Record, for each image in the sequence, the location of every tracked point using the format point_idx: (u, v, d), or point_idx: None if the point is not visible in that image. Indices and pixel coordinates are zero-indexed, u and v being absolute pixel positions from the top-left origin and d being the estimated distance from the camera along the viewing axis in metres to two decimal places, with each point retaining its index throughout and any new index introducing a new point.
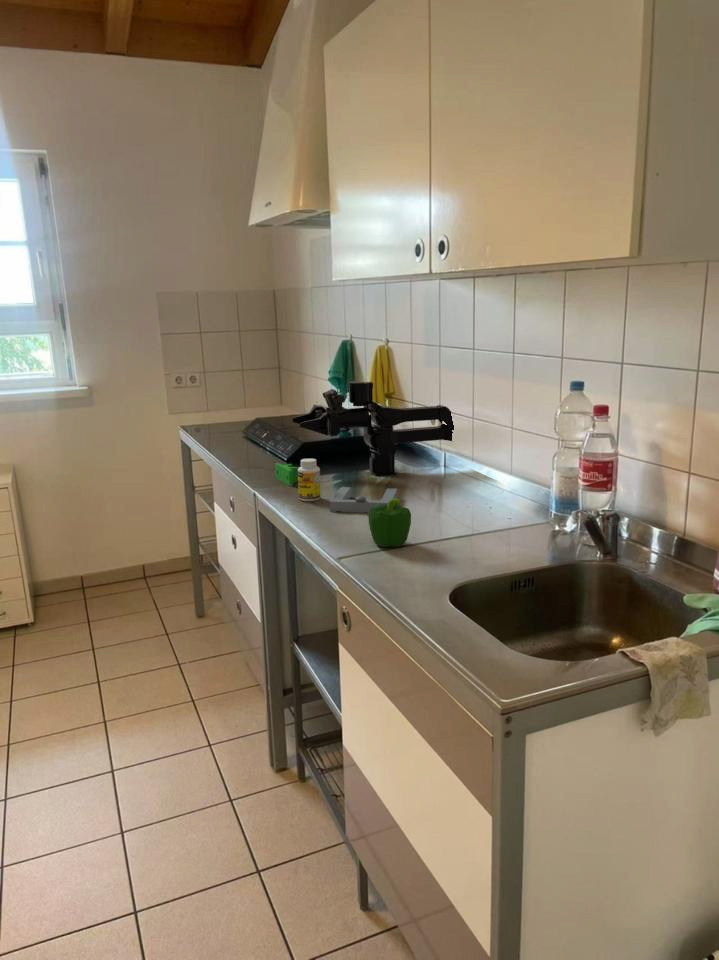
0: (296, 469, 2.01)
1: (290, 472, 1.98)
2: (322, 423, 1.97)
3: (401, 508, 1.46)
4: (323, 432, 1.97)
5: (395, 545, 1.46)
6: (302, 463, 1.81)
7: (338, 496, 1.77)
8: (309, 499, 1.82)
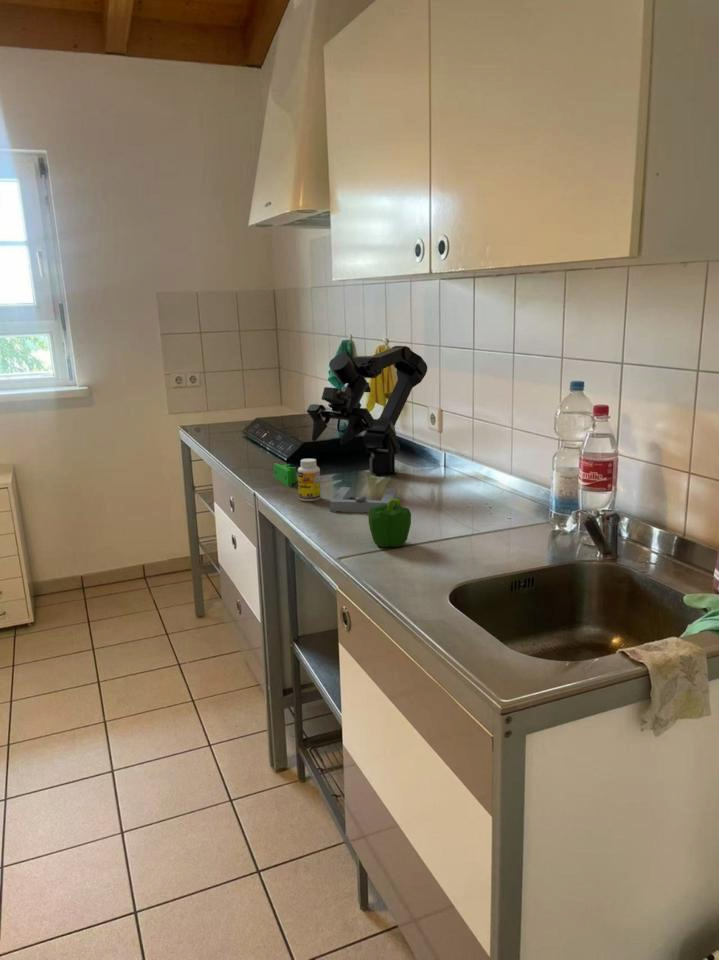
0: (294, 469, 2.01)
1: (288, 472, 1.97)
2: (354, 424, 1.87)
3: (401, 508, 1.46)
4: (360, 430, 1.88)
5: (395, 545, 1.46)
6: (302, 463, 1.81)
7: (338, 496, 1.77)
8: (309, 499, 1.82)
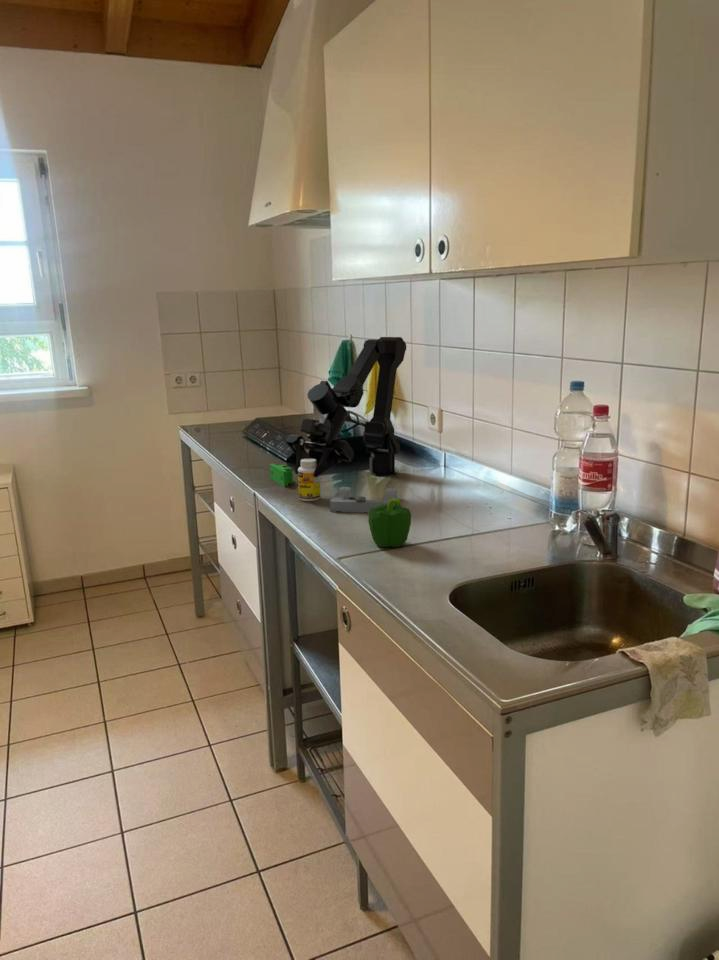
0: (291, 470, 2.01)
1: (284, 473, 1.97)
2: (328, 456, 1.82)
3: (401, 508, 1.46)
4: (334, 462, 1.83)
5: (395, 545, 1.46)
6: (302, 463, 1.81)
7: (338, 496, 1.77)
8: (309, 499, 1.82)
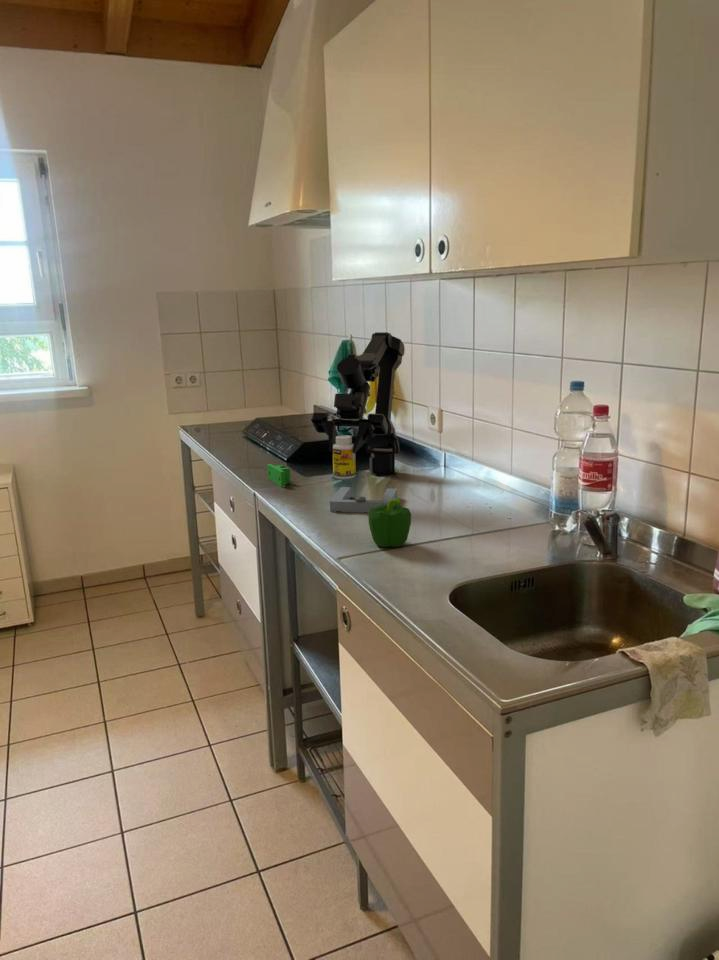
0: (288, 470, 2.00)
1: (282, 473, 1.97)
2: None
3: (401, 508, 1.46)
4: (368, 437, 1.80)
5: (395, 545, 1.46)
6: (339, 440, 1.75)
7: (338, 496, 1.77)
8: (348, 476, 1.77)
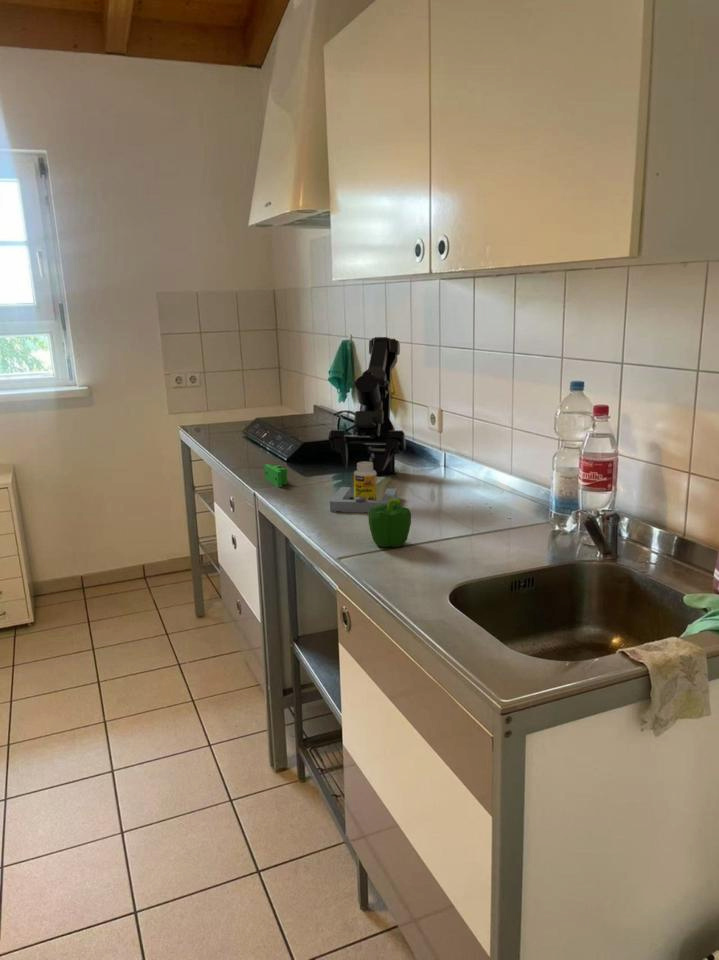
0: (285, 470, 2.00)
1: (279, 473, 1.96)
2: None
3: (401, 508, 1.46)
4: (393, 454, 1.80)
5: (395, 545, 1.46)
6: (362, 466, 1.76)
7: (338, 496, 1.77)
8: None
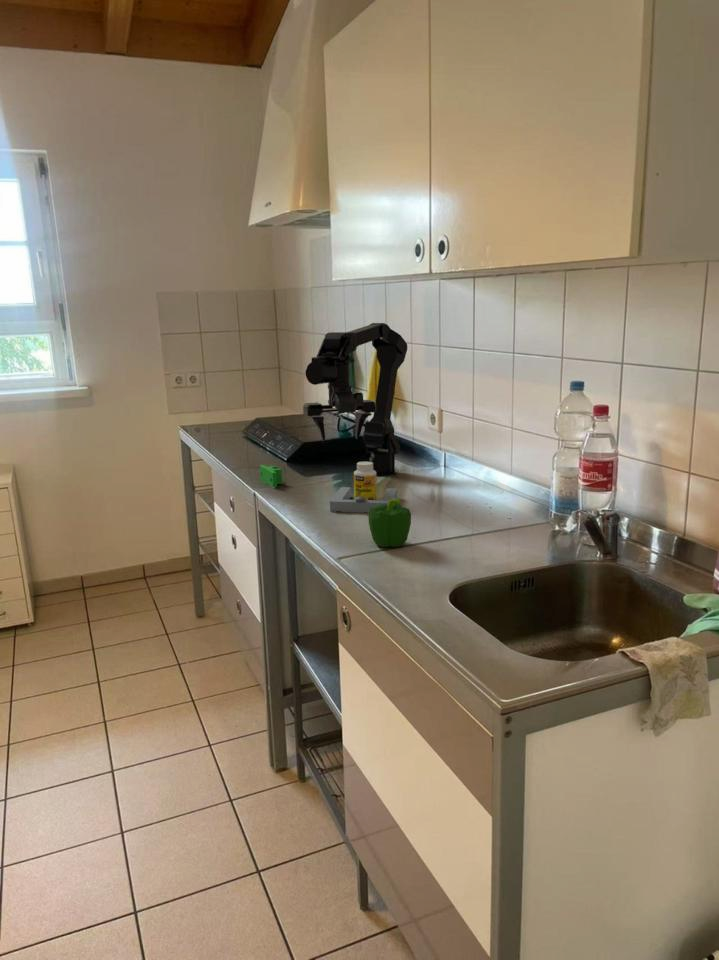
0: (280, 471, 2.00)
1: (273, 474, 1.96)
2: None
3: (401, 508, 1.46)
4: None
5: (395, 545, 1.46)
6: (362, 466, 1.76)
7: (338, 496, 1.77)
8: None
